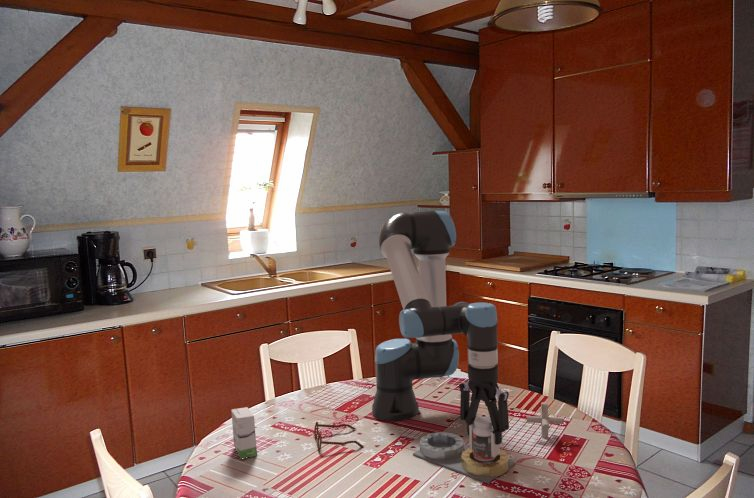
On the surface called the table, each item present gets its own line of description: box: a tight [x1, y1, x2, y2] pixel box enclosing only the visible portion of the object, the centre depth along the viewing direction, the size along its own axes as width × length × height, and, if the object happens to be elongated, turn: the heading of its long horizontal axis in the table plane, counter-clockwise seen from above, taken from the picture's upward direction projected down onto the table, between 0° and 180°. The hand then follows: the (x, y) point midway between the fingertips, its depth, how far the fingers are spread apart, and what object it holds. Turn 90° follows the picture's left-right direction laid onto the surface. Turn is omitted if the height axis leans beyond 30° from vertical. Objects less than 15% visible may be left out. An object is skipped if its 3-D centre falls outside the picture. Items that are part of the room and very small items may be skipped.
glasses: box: [313, 421, 365, 452], centre depth 172 cm, size 13×13×5 cm
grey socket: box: [419, 431, 465, 461], centre depth 162 cm, size 12×12×2 cm
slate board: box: [412, 444, 516, 484], centre depth 158 cm, size 24×13×1 cm, turn 46°
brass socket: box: [461, 448, 509, 477], centre depth 153 cm, size 12×12×2 cm
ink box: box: [231, 406, 258, 460], centre depth 167 cm, size 9×5×12 cm, turn 26°
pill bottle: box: [473, 416, 496, 461], centre depth 152 cm, size 6×6×10 cm
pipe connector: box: [526, 401, 564, 439], centre depth 169 cm, size 10×10×10 cm
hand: (484, 451), depth 152 cm, fingers open, 6 cm apart
